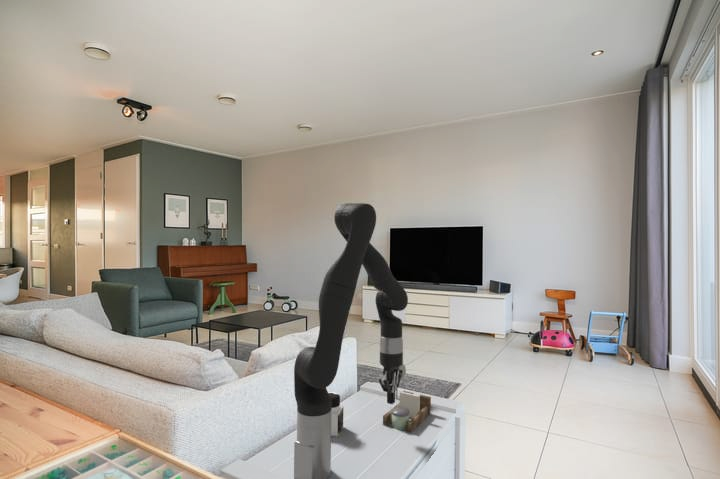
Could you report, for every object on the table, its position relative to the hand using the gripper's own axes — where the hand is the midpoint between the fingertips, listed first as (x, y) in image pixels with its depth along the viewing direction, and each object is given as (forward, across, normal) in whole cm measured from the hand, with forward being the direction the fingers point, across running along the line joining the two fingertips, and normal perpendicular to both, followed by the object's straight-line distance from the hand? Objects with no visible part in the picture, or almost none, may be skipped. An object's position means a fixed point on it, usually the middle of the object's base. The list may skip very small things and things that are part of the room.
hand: (391, 402), depth 127 cm
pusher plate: (+10, +18, 0) cm, 21 cm away
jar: (+10, +8, 0) cm, 13 cm away
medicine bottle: (+10, -8, +18) cm, 23 cm away
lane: (+10, +13, 0) cm, 17 cm away
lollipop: (+11, +28, +11) cm, 32 cm away
